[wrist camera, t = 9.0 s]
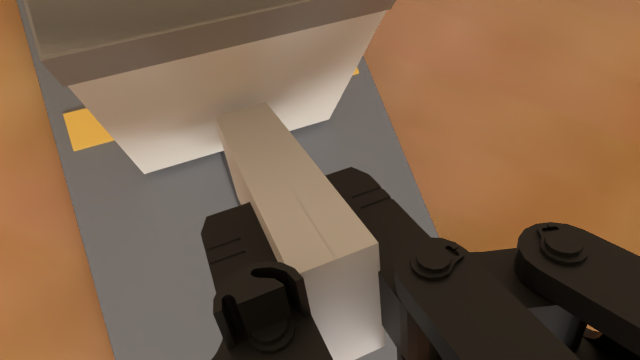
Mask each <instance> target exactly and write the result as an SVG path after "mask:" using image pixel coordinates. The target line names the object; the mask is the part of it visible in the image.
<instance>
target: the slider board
mask: <svg viewBox="0 0 640 360" xmlns="http://www.w3.org/2000/svg"><path fill="white" fill-rule="evenodd" d="M16 1H17V4H18V8H19V12H20V15H21V19H22V22H23V26H24V30H25V33H26V37H27V41H28V44H29V48H30V52H31V55H32V59H33V62H34V66H35V70H36V73H37V77H38V81H39V84H40V88H41V92H42V95H43V99H44V102H45V106H46V110H47V113H48V117H49V121H50V124H51V128H52V132H53V135H54V139H55V142H56V146H57V150H58V153H59V157H60V161H61V164H62V168H63V172H64V175H65V179H66V183H67V186H68V190H69V193H70V197H71V201H72V204H73V208H74V212H75V215H76V219H77V223H78V226H79V230H80V233H81V237H82V241H83V244H84V248H85V252H86V255H87V259H88V263H89V266H90V270H91V273H92V277H93V281H94V284H95V288H96V292H97V295H98V299H99V303H100V306H101V310H102V313H103V317H104V321H105V324H106V328H107V332H108V335H109V339H110V343H111V346H112V350H113V353H114V357H115V360H211V359H212V358H213V357H214V355H215V354H216V353H217V351H218V349H219V346H220V344H221V342H222V338H223V337H222V335H221V332H220V330H219V327H218V325H217V322H216V320H215V317H214V315H213V299H214V297H215V295H216V290H215V287H214V283H213V279H212V275H211V271H210V268H209V264H208V260H207V256H206V252H205V249H204V245H203V241H202V237H201V231H202V228H203V225H204V222H205V219H206V217H207V216H210V215H213V214H216V213H219V212H222V211H225V210H228V209H231V208H234V207H237V206H240V205H241V204H240V201H239V199H238V197H237V193H236V190H235V187H234V183H233V180H232V176H231V173H230V169H229V166H228V163H227V159H226V156H225V152H224V151H221V152H217V153H214V154H211V155H207V156H204V157H201V158H197V159H194V160H190V161H187V162H184V163H180V164H177V165H174V166H170V167H167V168H163V169H160V170H157V171H153V172H150V173H147V174H144V173H143V172H142V171H141V170H140V169H139V168H138V167H137V165H136V164H135V163H134V162H133V161H132V160H131V158H130V157H129V156H128V155H127V154H126V153H125V152H124V150H123V149H122V148H121V147H120V146H119V145H118V144H117V142H116V141H115V140H114V139H113V138H112V137H111V135H110V134H109V133H108V132H107V131H106V130H105V129H104V127H103V126H102V125H101V124H100V123H99V122H98V121H97V119H96V118H95V117H94V116H93V115H92V114H91V113H90V111H89V110H88V109H87V108H86V107H85V106H84V104H83V103H82V102H81V101H80V100H79V99H78V98H77V96H76V95H75V94H74V93H73V92H72V91H71V90H70V88H69V87H68V86H65V87H63V86H62V85H61V84H60V82H59V81H58V80H57V79H56V78H55V77H54V76H53V75H52V73H51V72H50V71H49V70H48V69H47V68H46V67H45V66H44V65H43V63H42V62H41V61H40V58H39V55H38V51H37V48H36V44H35V40H34V37H33V33H32V30H31V26H30V22H29V19H28V15H27V12H26V8H25V4H24V1H23V0H16ZM290 133H291V134H292V135H293V136H294V138H295V139H296V140H297V141H298V143H299V144H300V145H301V146H302V148H303V149H304V150H305V151H306V153H307V154H308V155H309V156H310V158H311V159H312V160H313V161H314V163H315V164H316V165H317V166H318V168H319V169H320V170H321V171H322V173H323V174H324V175H328V174H331V173H334V172H337V171H340V170H343V169H346V168H349V167H353V168H356V169H358V170H360V171H363V172H365V173H367V174H369V175H370V176H371V177H372V178H373V179H374V180H375V181H376V182H377V183H378V184H379V185H380V186H381V188H382V189H384V190H385V191H386V192H387V193H388V194H389V195H390V196H391V199H394V200H395V201H396V202H397V203H398V204H399V205H400V206H401V207H402V208H403V209H404V211H405V212H406V213H407V214H408V215H409V216H410V217H411V218H412V219H413V220H414V221H415V222H416V223H417V224H418V225H419V226H420V227H421V228H422V229H423V230H424V231H425V232H426V233H427V234H428V235H429V236H430V237H433V238H439V237H438V234H437V232H436V229H435V227H434V225H433V222H432V220H431V217H430V215H429V213H428V210H427V208H426V205H425V203H424V201H423V198H422V196H421V193H420V191H419V189H418V186H417V184H416V181H415V179H414V177H413V174H412V172H411V169H410V167H409V165H408V162H407V160H406V157H405V155H404V153H403V150H402V148H401V145H400V143H399V141H398V138H397V136H396V133H395V131H394V129H393V126H392V124H391V121H390V119H389V117H388V114H387V112H386V109H385V107H384V105H383V102H382V100H381V97H380V95H379V93H378V90H377V88H376V85H375V83H374V81H373V78H372V76H371V73H370V71H369V69H368V66H367V64H366V61H365V59H364V57H363V56H362V58H361V60H360V62H359V64H358V66H357V68H356V69H355V71H354V73H353V75H352V77H351V79H350V81H349V83H348V85H347V86H346V88H345V90H344V92H343V94H342V96H341V98H340V100H339V102H338V103H337V105H336V107H335V109H334V111H333V113H332V115H331V117H330V119H329V120H325V121H322V122H319V123H315V124H312V125H308V126H305V127H302V128H298V129H295V130H292V131H290ZM384 332H385V346H384V347H382V348H380V349H377V350H375V351H373V352H371V353H369V354H366V355H364V356H362V357H360V358H358V359H355V360H397V347H396V346H395V344H394V343H393V341H392V340H391V338H390V337H389V335H388V334H387V332H386V330H385V329H384Z"/></svg>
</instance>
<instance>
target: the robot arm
mask: <svg viewBox="0 0 640 360" xmlns="http://www.w3.org/2000/svg"><path fill="white" fill-rule="evenodd" d="M214 118H215V122H216V125H217V128H218V132H219V135H220V139H221V142H222V145H223V149H224V152H225V156H226V159H227V163H228V166H229V169H230V173H231V176H232V180H233V183H234V187H235V190H236V193H237V197H238V199H239V201H240V204H241V205H240V206H237V207H234V208H231V209H228V210H225V211H222V212H219V213H216V214H213V215H210V216H207V217H206V219H205V222H204V225H203V228H202V231H201V237H202V241H203V245H204V249H205V252H206V256H207V260H208V264H209V268H210V271H211V275H212V279H213V283H214V287H215V290H216V295H215V297H214V299H213V315H214V317H215V320H216V322H217V325H218V327H219V330H220V332H221V335H222V337H223V338H222V342H221V344H220V346H219V349H218V351H217V353H216V354H215V355H214V357H213V358H212V359H211V360H355V359H358V358H360V357H362V356H364V355H366V354H369V353H371V352H373V351H375V350H377V349H380V348H382V347H384V346H385V332H384V329H385V330H386V332H387V334H388V335H389V337H390V338H391V340H392V341H393V343H394V344H395V346H396V347H397V360H640V256H638V255H636V254H633V253H631V252H629V251H627V250H625V249H623V248H621V247H619V246H617V245H615V244H612V243H610V242H608V241H606V240H604V239H602V238H600V237H598V236H596V235H593V234H591V233H589V232H587V231H585V230H583V229H580V228H577V227H574V226H571V225H568V224H561V223H553V222H549V223H540V224H535V225H533V226H531V227H529V228H526V229H525V230H524V231H523V232H522V234H521V235H520V236H519V238H518V244H517V248H513V249H504V250H495V251H487V252H468V251H467V250H466V249H464V248H463V247H461V246H460V245H458V244H457V243H455V242H452V241H449V240H446V239H443V238H433V237H430V236H429V235H428V234H427V233H426V232H425V231H424V230H423V229H422V228H421V227H420V226H419V225H418V224H417V223H416V222H415V221H414V220H413V219H412V218H411V217H410V216H409V215H408V214H407V213H406V212H405V211H404V209H403V208H402V207H401V206H400V205H399V204H398V203H397V202H396V201H395V200H394V199H391V196H390V195H389V194H388V193H387V192H386V191H385V190H384V189H382V188H381V186H380V185H379V184H378V183H377V182H376V181H375V180H374V179H373V178H372V177H371V176H370V175H369V174H367V173H365V172H363V171H360V170H358V169H356V168H353V167H349V168H346V169H343V170H340V171H337V172H334V173H331V174H328V175H324V174H323V173H322V171H321V170H320V169H319V168H318V166H317V165H316V164H315V163H314V161H313V160H312V159H311V158H310V156H309V155H308V154H307V153H306V151H305V150H304V149H303V148H302V146H301V145H300V144H299V143H298V141H297V140H296V139H295V138H294V136H293V135H292V134H291V133H290V131H289V130H288V129H287V128H286V126H285V125H284V124H283V123H282V121H281V120H280V119H279V118H278V116H277V115H276V114H275V113H274V111H273V110H272V109H271V108H270V106H269V105H268V104H267V103H266V102H264V103H260V104H257V105H253V106H249V107H246V108H242V109H238V110H235V111H231V112H228V113H224V114H220V115H217V116H214ZM587 324H588V325H590V326H591V327H593V328H594V329H596V330H598V331H599V332H596V331H592V330H590V329H588V328H586V327H587Z"/></svg>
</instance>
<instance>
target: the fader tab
mask: <svg viewBox="0 0 640 360" xmlns="http://www.w3.org/2000/svg"><path fill="white" fill-rule="evenodd" d="M23 1H24V4H25V8H26V12H27V15H28V19H29V22H30V26H31V30H32V33H33V37H34V40H35V44H36V48H37V51H38V55H39V58H40V61H41V62H42V63H43V65H44V66H45V67H46V68H47V69H48V70H49V71H50V72H51V73H52V75H53V76H54V77H55V78H56V79H57V80H58V81H59V82H60V84H61V85H62V86H63V87H65V86H68V87H69V88H70V90H71V91H72V92H73V93H74V94H75V95H76V96H77V98H78V99H79V100H80V101H81V102H82V103H83V104H84V106H85V107H86V108H87V109H88V110H89V111H90V113H91V114H92V115H93V116H94V117H95V118H96V119H97V121H98V122H99V123H100V124H101V125H102V126H103V127H104V129H105V130H106V131H107V132H108V133H109V134H110V135H111V137H112V138H113V139H114V140H115V141H116V142H117V144H118V145H119V146H120V147H121V148H122V149H123V150H124V152H125V153H126V154H127V155H128V156H129V157H130V158H131V160H132V161H133V162H134V163H135V164H136V165H137V167H138V168H139V169H140V170H141V171H142V172H143V173H144V174H147V173H150V172H153V171H157V170H160V169H163V168H167V167H170V166H174V165H177V164H180V163H184V162H187V161H190V160H194V159H197V158H201V157H204V156H207V155H211V154H214V153H217V152H221V151H224V149H223V145H222V142H221V139H220V135H219V132H218V128H217V125H216V122H215V118H214V116H217V115H220V114H224V113H228V112H231V111H235V110H238V109H242V108H246V107H249V106H253V105H257V104H260V103H264V102H266V103H267V104H268V105H269V106H270V108H271V109H272V110H273V111H274V113H275V114H276V115H277V116H278V118H279V119H280V120H281V121H282V123H283V124H284V125H285V126H286V128H287V129H288V130H289V131H292V130H295V129H298V128H302V127H305V126H308V125H312V124H315V123H319V122H322V121H325V120H329V119H330V117H331V115H332V113H333V111H334V109H335V107H336V105H337V103H338V102H339V100H340V98H341V96H342V94H343V92H344V90H345V88H346V86H347V85H348V83H349V81H350V79H351V77H352V75H353V73H354V71H355V69H356V68H357V66H358V64H359V62H360V60H361V58H362V56H363V54H364V52H365V51H366V49H367V47H368V45H369V43H370V41H371V39H372V37H373V35H374V34H375V32H376V30H377V28H378V26H379V24H380V22H381V20H382V18H383V17H384V15H385V13H386V11H387V10H389V9H391V8H392V6H393V4H394V3H395V1H396V0H23Z"/></svg>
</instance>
